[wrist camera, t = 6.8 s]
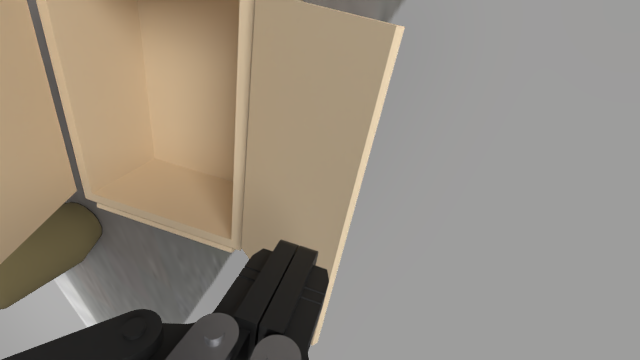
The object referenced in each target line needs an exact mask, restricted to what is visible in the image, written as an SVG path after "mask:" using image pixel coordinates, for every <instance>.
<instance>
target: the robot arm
mask: <svg viewBox="0 0 640 360" xmlns="http://www.w3.org/2000/svg"><path fill="white" fill-rule="evenodd" d="M317 257H318V251H316V250H313V249H310V248H307V247H304V246H299V245H297V244H294V243H291V242H288V241H285V240H282V239H281V240H280V241H279V242H278V244H277V245H276V247H275V249H274V250H273V251H270V250H267V249H264V248H263V249H261V250H260V251H258V252H257V253H255V254H254V255H252V256H251V258H250V259H249V261H248V262H247V264H246V265H245V268H243V270H242V271H241V273H240V274H239V276H238V277H237V278H236V280H235V281H234V283H233V284H232V286H231V287H230V289H229V290H228V292H227V293H226V295H225V296H224V297H223V299H222V301H221V302H220V303H219V305H218V306H217V308H216V309H215V310H214V312H213V313H212V314H208V315H206V316H204V317H202V318H200V319H199V320H198V321H197V322H195V323H191V324H167V323H162V321H161V318H160V316H159V315H158V314H157V313H155V312H154V311H151V310H147V309H139V310H134V311H130V312H128V313H125V314H122V315H120V316H117V317H114V318H112V319H109V320H106V321H103V322H101V323H98V324H95V325H93V326H90V327H87V328H85V329H82V330H79V331H77V332H74V333H71V334H69V335H66V336H63V337H61V338H58V339H55V340H53V341H50V342H48V343H45V344H42V345H39V346H37V347H34V348H31V349H29V350H26V351H23V352H21V353H18V354H15V355H13V356H10V357H7V358H5V359H2V360H309V358H308V350H309V347H310V344H311V341H312V338H313V335H314V332H315V329H316V326H317V322H318V319H319V316H320V313H321V310H322V307H323V303H324V299H325V296H326V292H327V288H328V284H329V277H328V271H327V269H325V268H322V267H319V266H316V262H317Z"/></svg>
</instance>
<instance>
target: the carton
mask: <svg viewBox="0 0 640 360" xmlns="http://www.w3.org/2000/svg"><path fill="white" fill-rule="evenodd" d="M298 1H302V2H303V0H298ZM36 2H37V6H38V10H39V14H40V18H41V22H42V26H43V30H44V34H45V38H46V42H47V46H48V50H49V54H50V58H51V62H52V66H53V70H54V74H55V78H56V82H57V86H58V90H59V94H60V98H61V102H62V106H63V110H64V114H65V118H66V122H67V126H68V130H69V134H70V138H71V142H72V146H73V150H74V154H75V158H76V162H77V166H78V170H79V174H80V178H81V182H82V186H83V189H84V193H85V197H86V199H88V200H91V201H94V202H97V207H98V208H101V209H104V210H107V211H110V212H113V213H116V214H118V215H121V216H124V217H127V218H130V219H133V220H136V221H139V222H142V223H145V224H148V225H151V226H154V227H157V228H160V229H163V230H166V231H169V232H172V233H174V234H177V235H180V236H183V237H186V238H189V239H192V240H195V241H198V242H201V243H204V244H207V245H210V246H213V247H216V248H219V249H222V250H225V251H227V252H230V253H232V252H233V251H234V250H236V249H237V250H241V249H242V248H241V244H242V227H243V209H244V192H245V174H246V156H247V139H248V121H249V103H250V86H251V68H252V51H253V33H254V15H255V0H36Z"/></svg>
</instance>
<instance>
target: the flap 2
mask: <svg viewBox="0 0 640 360" xmlns="http://www.w3.org/2000/svg"><path fill="white" fill-rule="evenodd" d="M404 28H405V27H403V26H399V25H395V24H391V23H387V22H383V21H379V20H375V19H371V18H367V17H363V16H359V15H354V14H350V13H346V12H342V11H338V10H334V9H330V8H326V7H322V6H318V5H314V4H310V3H306V2H302V1H298V0H255V15H254V33H253V51H252V68H251V86H250V103H249V121H248V139H247V156H246V174H245V192H244V209H243V227H242V244H241V248H242V249H243V251H244V252H245V253H246V255H247V256H248V258H249V259H250V258H251V256H252V255H254V254H255V253H257V252H258V251H260V250H261V249H263V248H264V249H267V250H270V251H273V250H274V249H275V247H276V245H277V244H278V242H279V241H280V240H281V239H282V240H285V241H288V242H291V243H294V244H297V245H299V246H304V247H307V248H310V249H313V250H316V251H318V257H317V262H316V266H319V267H322V268H325V269H327V271H328V277H329V284H328V288H327V292H326V296H325V299H324V303H323V307H322V310H321V313H320V316H319V319H318V322H317V326H316V329H315V332H314V335H313V338H312V341H311V345H314V344H315V343H317V342H318V338H319V335H320V332H321V328H322V324H323V321H324V317H325V314H326V309H327V306H328V302H329V299H330V295H331V292H332V288H333V285H334V281H335V277H336V274H337V270H338V266H339V263H340V259H341V256H342V252H343V248H344V245H345V241H346V238H347V234H348V230H349V227H350V223H351V219H352V216H353V212H354V209H355V205H356V201H357V198H358V194H359V190H360V187H361V183H362V179H363V176H364V172H365V169H366V165H367V162H368V158H369V154H370V151H371V147H372V143H373V140H374V136H375V133H376V129H377V125H378V122H379V118H380V115H381V111H382V107H383V104H384V100H385V97H386V93H387V89H388V85H389V82H390V78H391V75H392V71H393V68H394V64H395V60H396V57H397V53H398V49H399V46H400V42H401V38H402V35H403V31H404Z"/></svg>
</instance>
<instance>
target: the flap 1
mask: <svg viewBox="0 0 640 360" xmlns="http://www.w3.org/2000/svg"><path fill="white" fill-rule="evenodd" d="M76 191H77V189H76V185H75V182H74V178H73V174H72V170H71V166H70V163H69V159H68V155H67V151H66V148H65V144H64V140H63V136H62V132H61V129H60V125H59V121H58V117H57V113H56V110H55V106H54V102H53V98H52V95H51V91H50V87H49V83H48V79H47V76H46V72H45V68H44V64H43V60H42V57H41V53H40V49H39V45H38V41H37V38H36V34H35V30H34V26H33V23H32V19H31V15H30V11H29V7H28V4H27V0H0V264H1V263H2V262H3V261H4V260H5V259H6V258H7V257H8V256H9V255H11V254H12V253H13V252H14V251H15V250H16V249H17V248H18V247H19V246H20V245H21V244H22V243H23V242H24V241H25V240H26V239H27V238H28V237H29V236H30V235H31V234H32V233H33V232H34V231H35V230H37V229H38V228H39V227H40V226H41V225H42V224H43V223H44V222H45V221H46V220H47V219H48V218H49V217H50V216H51V215H52V214H53V213H54V212H55V211H56V210H57V209H58V208H59V207H60V206H61V205H63V204H64V203H65V202H66V201H67V200H68V199H69V198H70V197H71V196H72V195H73V194H74V193H75V192H76Z"/></svg>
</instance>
